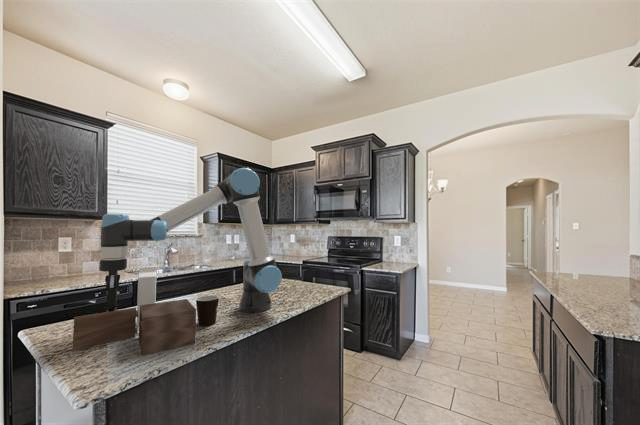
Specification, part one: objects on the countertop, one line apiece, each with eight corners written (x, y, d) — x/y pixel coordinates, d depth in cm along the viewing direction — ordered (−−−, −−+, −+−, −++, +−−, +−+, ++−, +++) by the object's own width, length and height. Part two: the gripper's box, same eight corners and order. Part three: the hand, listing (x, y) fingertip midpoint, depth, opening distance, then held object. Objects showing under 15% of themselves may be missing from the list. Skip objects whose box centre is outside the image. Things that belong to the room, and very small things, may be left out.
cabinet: (185, 328, 103) (186, 298, 104) (195, 343, 89) (196, 309, 90) (138, 337, 95) (139, 305, 95) (140, 355, 81) (142, 318, 81)
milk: (137, 322, 110) (139, 267, 112) (155, 319, 113) (156, 266, 115) (136, 326, 105) (138, 269, 107) (154, 324, 108) (156, 268, 110)
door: (137, 337, 94) (138, 307, 95) (72, 351, 83) (74, 317, 84) (136, 335, 96) (137, 306, 96) (72, 348, 85) (74, 316, 85)
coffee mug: (210, 328, 104) (210, 301, 104) (190, 326, 105) (191, 300, 106) (226, 318, 115) (227, 294, 116) (208, 317, 117) (209, 293, 117)
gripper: (101, 257, 97) (98, 324, 96) (97, 261, 86) (94, 336, 85) (127, 256, 101) (124, 320, 100) (126, 260, 91) (123, 331, 90)
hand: (110, 327), depth 93 cm, fingers closed
